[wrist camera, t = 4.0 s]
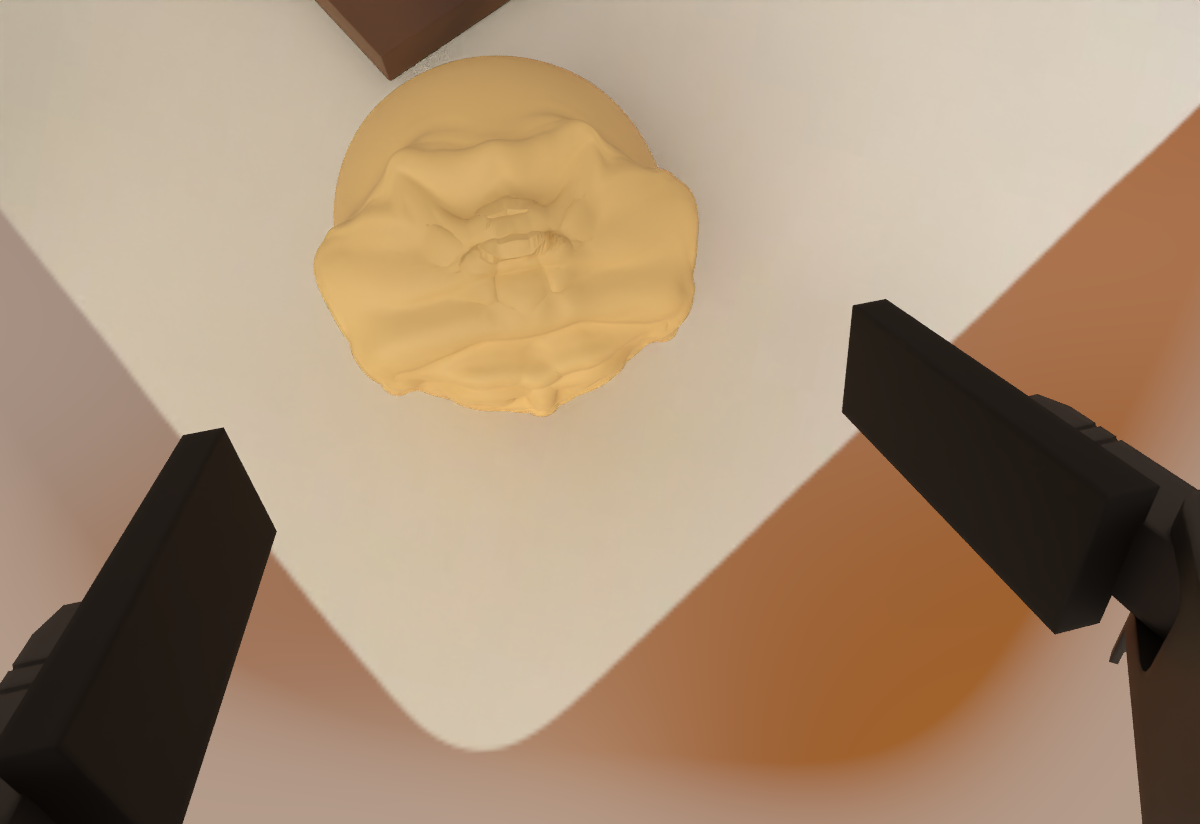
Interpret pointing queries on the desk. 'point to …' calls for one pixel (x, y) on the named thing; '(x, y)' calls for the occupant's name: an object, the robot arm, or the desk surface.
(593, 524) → the desk surface
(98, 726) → the robot arm
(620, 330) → the sculpture
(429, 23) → the cutting board
